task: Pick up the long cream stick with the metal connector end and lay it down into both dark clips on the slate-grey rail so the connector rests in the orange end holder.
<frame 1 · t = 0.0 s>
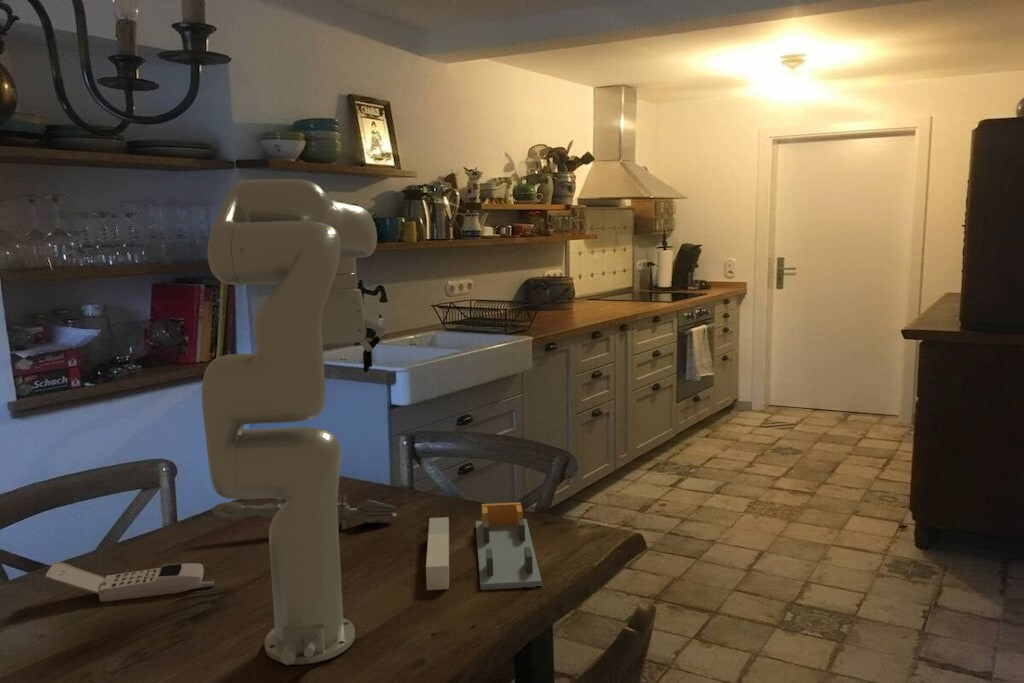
hand: (341, 371, 157), 31 cm above the table, fingers open, 9 cm apart
clip rail: (505, 553, 147), on the table
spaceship: (307, 531, 160), on the table
long cream stick: (438, 561, 144), on the table
mobile phone: (135, 594, 135), on the table
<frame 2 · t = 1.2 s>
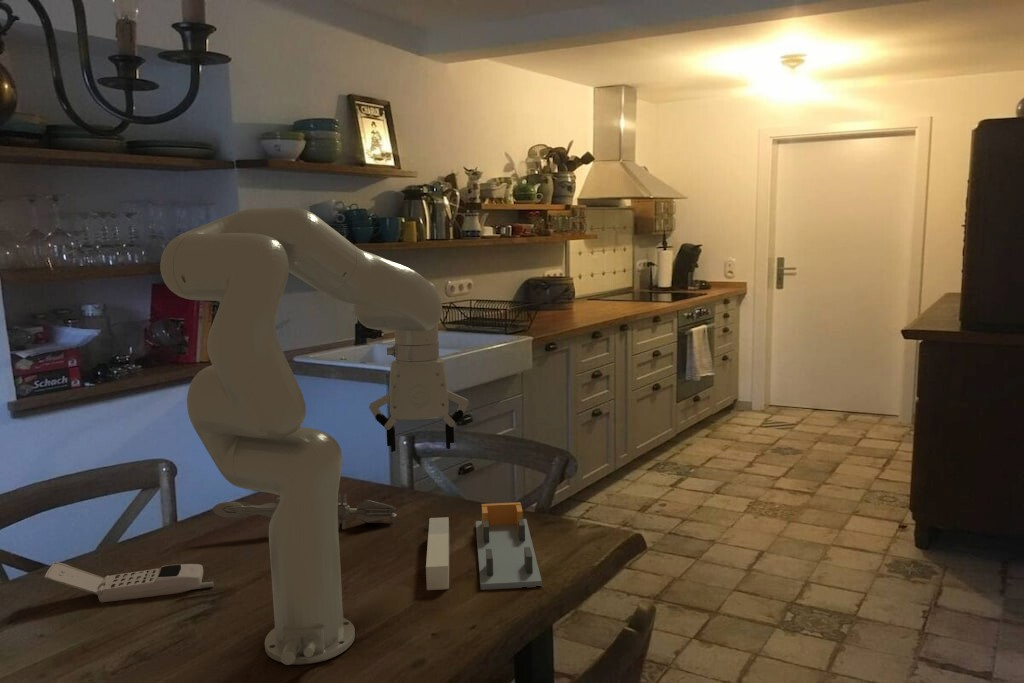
hand: (420, 448, 144), 20 cm above the table, fingers open, 9 cm apart
nothing on the table moved.
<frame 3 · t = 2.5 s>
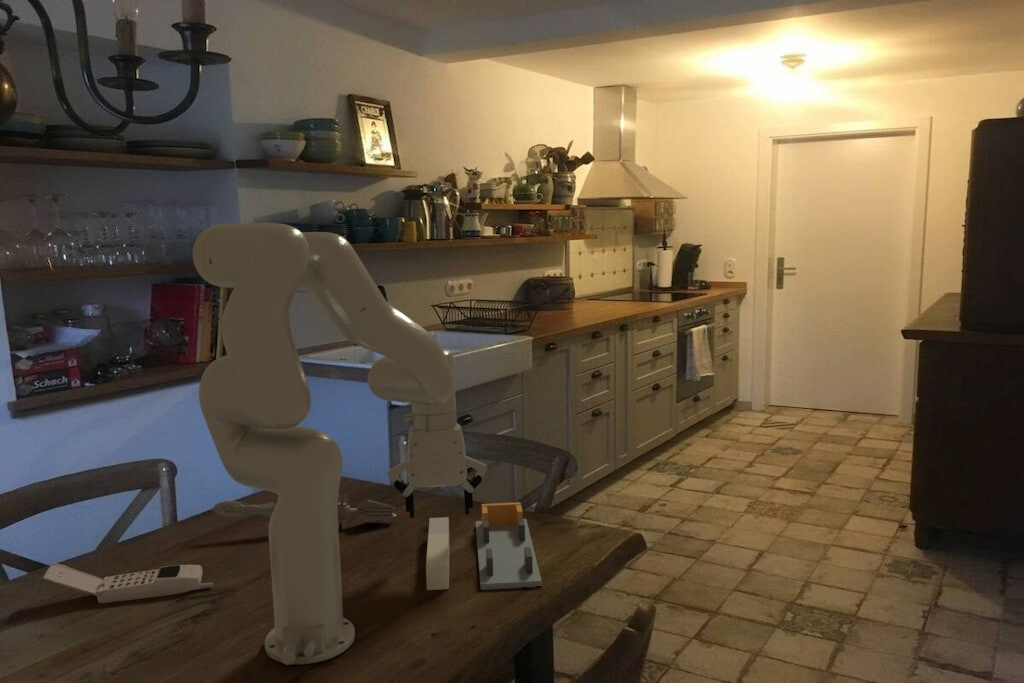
hand: (439, 513, 143), 9 cm above the table, fingers open, 9 cm apart
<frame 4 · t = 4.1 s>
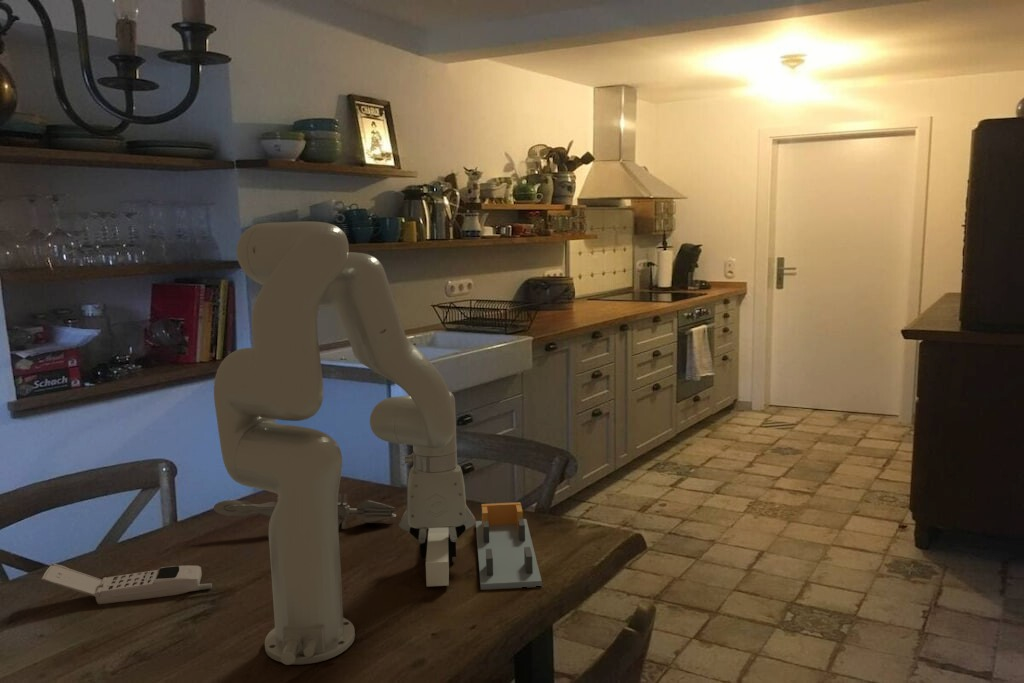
hand: (438, 560, 144), 0 cm above the table, fingers closed on long cream stick, 3 cm apart
long cream stick: (438, 560, 144), on the table, touching gripper
everything else where it was.
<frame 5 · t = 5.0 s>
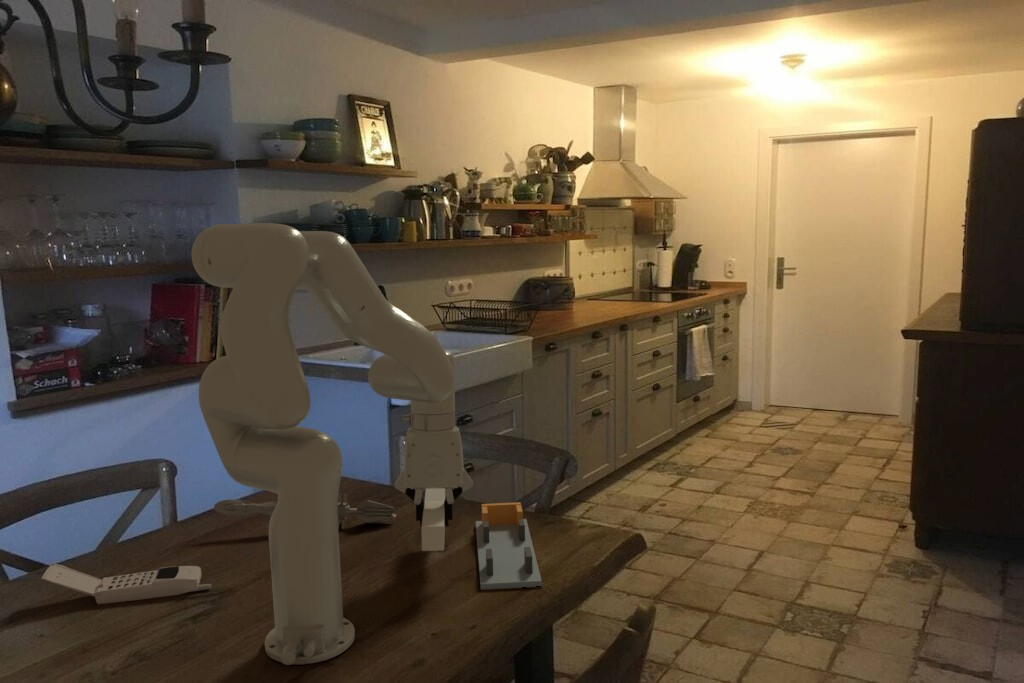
hand: (434, 523, 142), 7 cm above the table, fingers closed on long cream stick, 3 cm apart
long cream stick: (434, 528, 142), point 7 cm above the table, touching gripper
everything else where it was.
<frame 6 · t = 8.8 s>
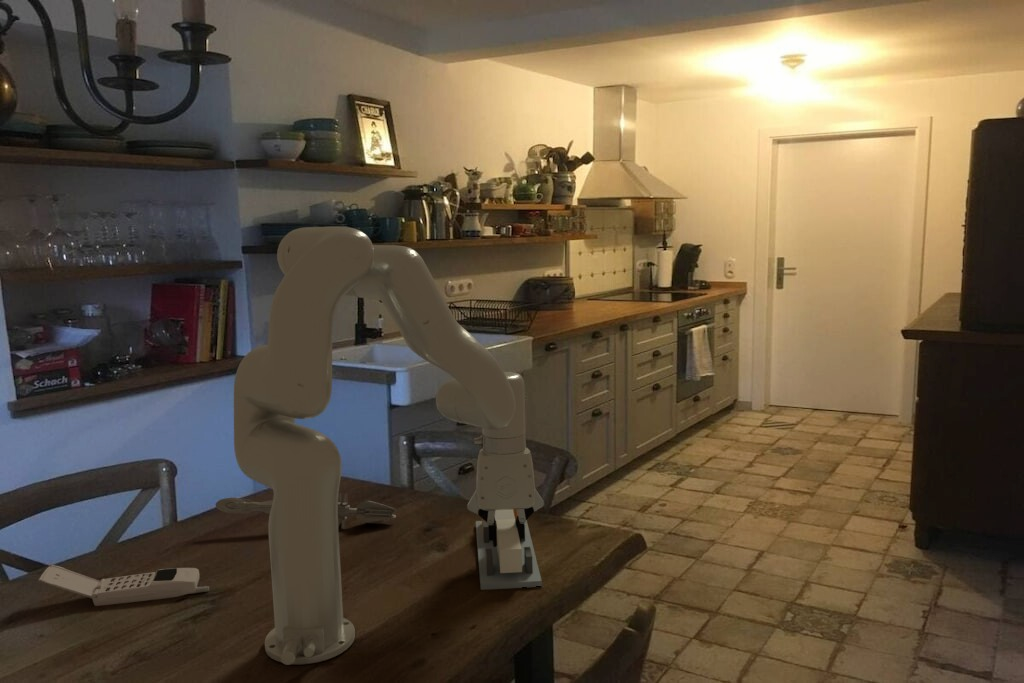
hand: (506, 542, 144), 3 cm above the table, fingers closed on long cream stick, 3 cm apart
long cream stick: (506, 546, 144), point 2 cm above the table, touching gripper
when the fingers open (2 cm above the table, at t = 9.1 s): long cream stick stays where it is, resting on clip rail.
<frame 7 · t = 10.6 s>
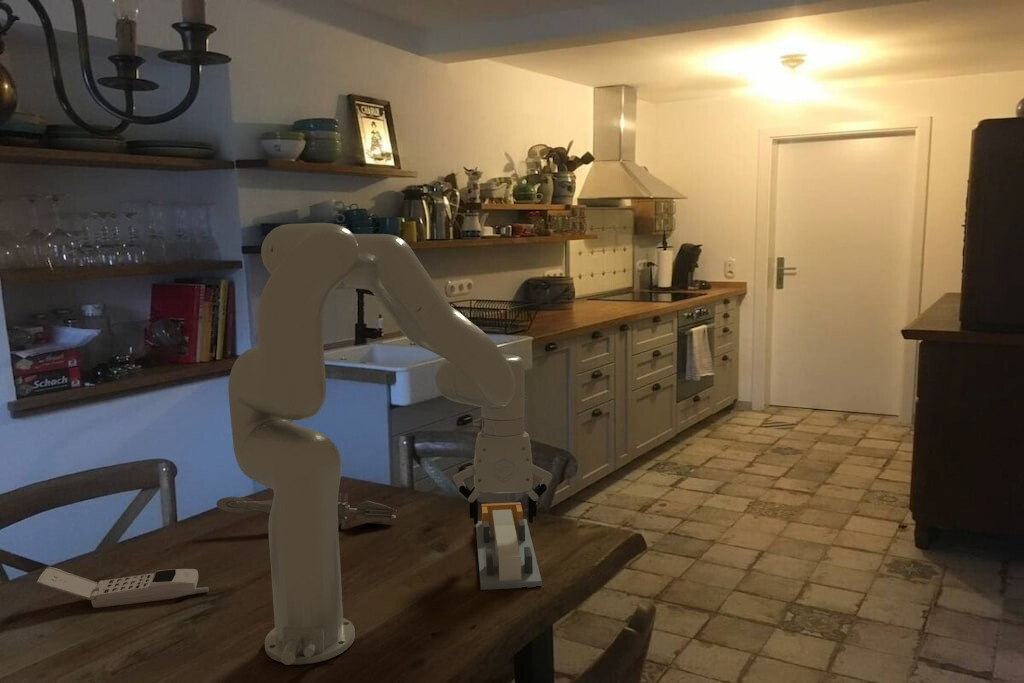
hand: (502, 521, 143), 7 cm above the table, fingers open, 9 cm apart
long cream stick: (506, 553, 144), point 1 cm above the table, touching clip rail
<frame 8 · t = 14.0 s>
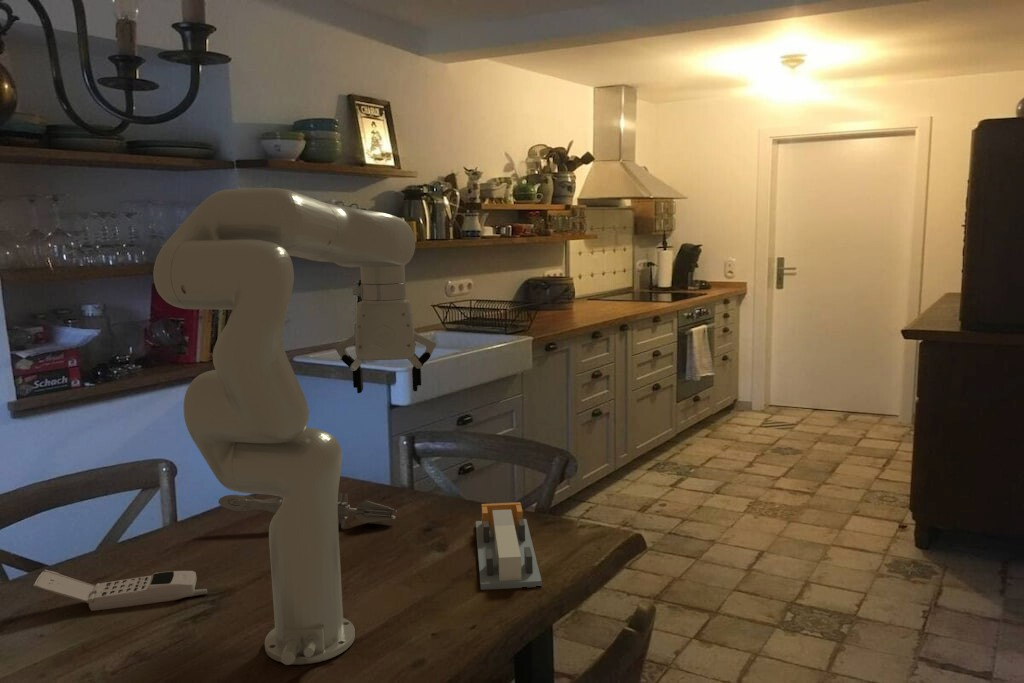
hand: (387, 390, 143), 30 cm above the table, fingers open, 9 cm apart
at the end: long cream stick 0.2 cm from the target spot on the clip rail, point 1.0 cm above the clip rail's base; long cream stick tilted 0°; the gripper is holding nothing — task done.
